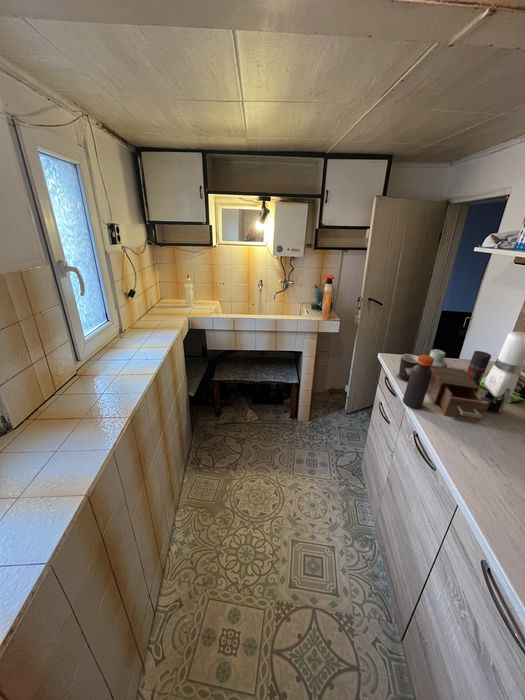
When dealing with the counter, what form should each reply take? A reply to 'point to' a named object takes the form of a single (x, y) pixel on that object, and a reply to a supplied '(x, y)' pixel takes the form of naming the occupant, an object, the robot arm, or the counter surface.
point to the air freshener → (438, 358)
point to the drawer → (461, 403)
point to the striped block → (489, 400)
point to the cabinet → (448, 381)
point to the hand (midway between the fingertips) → (489, 407)
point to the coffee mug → (407, 366)
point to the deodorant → (478, 366)
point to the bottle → (418, 382)
